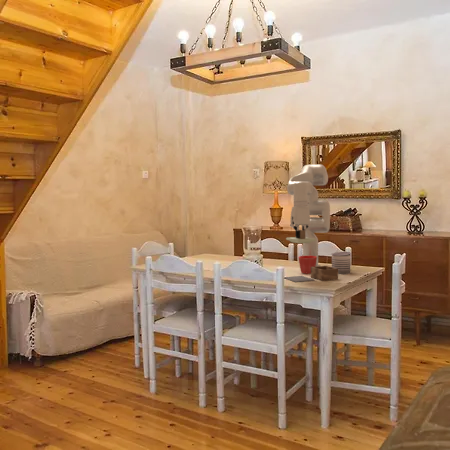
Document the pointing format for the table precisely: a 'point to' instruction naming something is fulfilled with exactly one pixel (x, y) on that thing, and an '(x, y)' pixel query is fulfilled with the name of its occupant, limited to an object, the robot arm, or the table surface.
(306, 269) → the flower pot
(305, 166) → the robot arm
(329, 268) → the box
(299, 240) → the lid
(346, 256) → the can
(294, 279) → the mat
